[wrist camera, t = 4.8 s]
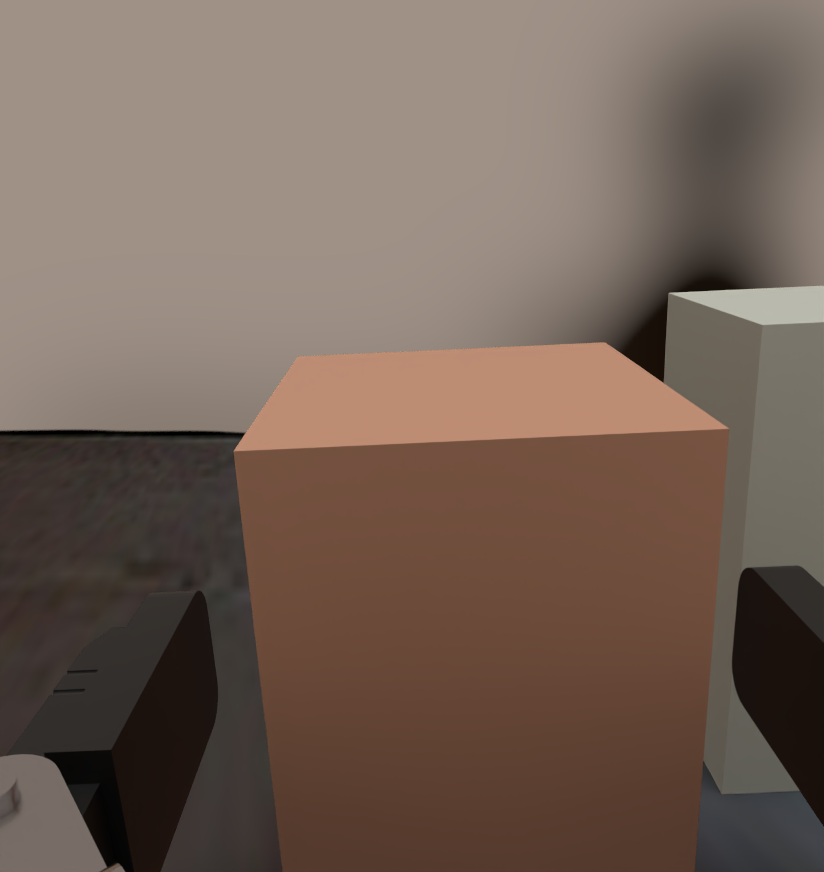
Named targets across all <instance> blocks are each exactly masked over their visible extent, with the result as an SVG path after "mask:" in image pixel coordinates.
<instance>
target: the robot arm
mask: <svg viewBox="0 0 824 872" xmlns="http://www.w3.org/2000/svg"><path fill="white" fill-rule="evenodd" d="M732 674H733V680H734V685H735V689H736V692H737V695H738V697H739V700H740V702H741V703H742V705H743V707H744V708H745V710H746V711H747V713H748V714H749V716H750V717H751V719H752V720H753V722H754V723H755V725H756V726H757V728H758V729H759V731H760V732H761V734H762V735H763V737H764V738H765V740H766V741H767V743H768V744H769V746H770V747H771V749H772V750H773V751H774V753H775V754H776V756H777V757H778V759H779V760H780V762H781V763H782V765H783V766H784V768H785V769H786V771H787V772H788V774H789V775H790V777H791V778H792V780H793V781H794V783H795V784H796V786H797V787H798V789H799V790H800V792H801V793H802V795H803V796H804V798H805V799H806V801H807V802H808V804H809V805H810V807H811V808H812V810H813V811H814V813H815V814H816V816H817V817H818V819H819V820H820V822H821V823H822V824H823V826H824V586H822V585H821V584H820V583H819V582H818V581H817V580H816V579H815V578H814V577H813V576H812V575H810V574H809V573H808V572H807V571H806V570H805V569H804V568H802V567H801V566H797V565H794V566H771V567H749V568H745V569H744V570H743V571H742V573H741V575H740V579H739V584H738V594H737V605H736V617H735V629H734V640H733V652H732ZM217 703H218V685H217V676H216V669H215V661H214V654H213V646H212V639H211V632H210V624H209V617H208V610H207V604H206V600H205V597H204V595H203V593H202V592H201V591H181V592H158V593H150V594H148V595H147V596H146V598H145V599H144V601H143V602H142V604H141V605H140V607H139V608H138V610H137V611H136V613H135V615H134V616H133V618H132V619H131V621H130V622H129V624H128V625H127V627H116V628H111V629H110V630H108V631H107V632H106V633H104V634H103V635H101V636H100V637H99V638H97V639H96V640H94V641H93V642H92V643H90V644H89V645H87V646H86V647H85V648H84V649H83V650H82V651H81V653H80V654H79V655H78V657H77V658H76V660H75V661H74V662H73V664H72V665H71V667H70V668H69V669H68V671H67V675H64V676H63V678H62V679H61V680H60V682H59V683H58V685H57V686H56V687H55V689H54V693H53V695H50V696H49V697H48V698H47V700H46V701H45V703H44V704H43V705H42V707H41V708H40V710H39V711H38V712H37V714H36V715H35V716H34V718H33V719H32V721H31V722H30V723H29V725H28V726H27V728H26V729H25V730H24V732H23V733H22V735H21V736H20V737H19V739H18V740H17V741H16V743H15V744H14V746H13V747H12V748H11V750H10V751H9V753H8V754H7V755H6V756H4V757H0V872H160V871H161V869H162V866H163V863H164V860H165V858H166V855H167V852H168V850H169V847H170V844H171V841H172V839H173V836H174V833H175V830H176V828H177V825H178V822H179V819H180V817H181V814H182V811H183V809H184V806H185V803H186V800H187V798H188V795H189V792H190V789H191V787H192V784H193V781H194V778H195V776H196V773H197V770H198V768H199V765H200V762H201V759H202V757H203V754H204V751H205V748H206V746H207V743H208V740H209V737H210V735H211V732H212V729H213V726H214V723H215V719H216V713H217Z"/></svg>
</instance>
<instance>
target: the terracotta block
mask: <svg viewBox="0 0 824 872" xmlns="http://www.w3.org/2000/svg"><path fill="white" fill-rule="evenodd" d="M728 439H729V428H728V427H726V426H725V425H723V424H722V423H720V422H719V421H717V420H716V419H715V418H713V417H712V416H710V415H709V414H707V413H706V412H704V411H703V410H702V409H700V408H699V407H697V406H696V405H694V404H693V403H691V402H690V401H689V400H687V399H686V398H684V397H683V396H681V395H680V394H679V393H677V392H676V391H674V390H673V389H671V388H670V387H668V386H667V385H666V384H664V383H663V382H661V381H659V380H658V379H657V378H655V377H654V376H653V375H651V374H650V373H648V372H647V371H645V370H644V369H642V368H641V367H639V366H638V365H637V364H635V363H634V362H632V361H631V360H629V359H628V358H626V357H625V356H624V355H622V354H621V353H619V352H618V351H616V350H615V349H614V348H612V347H610V346H609V345H608V344H606V343H583V344H561V345H540V346H517V347H497V348H496V347H495V348H475V349H453V350H452V349H451V350H430V351H409V352H386V353H366V354H365V353H364V354H345V355H344V354H342V355H322V356H321V355H320V356H301V357H300V356H298V357H297V359H296V360H295V362H294V363H293V365H292V366H291V368H290V369H289V371H288V372H287V373H286V375H285V377H284V378H283V379H282V381H281V382H280V384H279V385H278V387H277V388H276V390H275V391H274V393H273V394H272V395H271V397H270V398H269V400H268V401H267V403H266V404H265V406H264V407H263V409H262V410H261V412H260V413H259V415H258V416H257V418H256V419H255V421H254V422H253V424H252V425H251V427H250V428H249V429H248V431H247V432H246V434H245V435H244V437H243V438H242V440H241V441H240V443H239V444H238V446H237V447H236V448H235V450H234V459H235V468H236V476H237V485H238V493H239V502H240V510H241V519H242V527H243V536H244V545H245V553H246V562H247V570H248V579H249V587H250V596H251V605H252V613H253V622H254V630H255V639H256V647H257V656H258V665H259V673H260V682H261V690H262V699H263V707H264V716H265V725H266V733H267V742H268V750H269V759H270V767H271V776H272V785H273V793H274V802H275V810H276V819H277V827H278V836H279V845H280V853H281V862H282V870H283V872H695V861H696V848H697V835H698V822H699V809H700V797H701V784H702V771H703V758H704V746H705V733H706V720H707V707H708V695H709V682H710V669H711V656H712V644H713V631H714V618H715V605H716V593H717V580H718V567H719V554H720V542H721V529H722V516H723V503H724V491H725V478H726V465H727V452H728Z"/></svg>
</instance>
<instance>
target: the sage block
mask: <svg viewBox="0 0 824 872" xmlns="http://www.w3.org/2000/svg"><path fill="white" fill-rule="evenodd" d="M664 384H666V385H667V386H668V387H670V388H671V389H673V390H674V391H676V392H677V393H679V394H680V395H681V396H683V397H684V398H686V399H687V400H689V401H690V402H691V403H693V404H694V405H696V406H697V407H699V408H700V409H702V410H703V411H704V412H706V413H707V414H709V415H710V416H712V417H713V418H715V419H716V420H717V421H719V422H720V423H722V424H723V425H725V426H726V427H728V428H729V439H728V452H727V465H726V478H725V491H724V503H723V516H722V529H721V542H720V554H719V567H718V580H717V593H716V605H715V618H714V631H713V644H712V656H711V669H710V682H709V695H708V707H707V720H706V733H705V746H704V758H703V761H704V762H705V764H706V766H707V768H708V770H709V772H710V774H711V775H712V777H713V779H714V781H715V783H716V785H717V787H718V788H719V790H720V792H721V794H744V793H767V792H789V791H800V790H799V789H798V787H797V786H796V784H795V783H794V781H793V780H792V778H791V777H790V775H789V774H788V772H787V771H786V769H785V768H784V766H783V765H782V763H781V762H780V760H779V759H778V757H777V756H776V754H775V753H774V751H773V750H772V749H771V747H770V746H769V744H768V743H767V741H766V740H765V738H764V737H763V735H762V734H761V732H760V731H759V729H758V728H757V726H756V725H755V723H754V722H753V720H752V719H751V717H750V716H749V714H748V713H747V711H746V710H745V708H744V707H743V705H742V703H741V702H740V700H739V697H738V695H737V692H736V689H735V685H734V680H733V674H732V652H733V640H734V629H735V617H736V605H737V594H738V584H739V579H740V575H741V573H742V571H743V570H744V569H745V568H749V567H771V566H794V565H797V566H801V567H802V568H804V569H805V570H806V571H807V572H808V573H809V574H810V575H812V576H813V577H814V578H815V579H816V580H817V581H818V582H819V583H820V584H821V585H822V586H824V286H809V287H788V288H768V289H767V288H766V289H745V290H723V291H701V292H680V293H669V294H668V315H667V334H666V355H665V374H664Z"/></svg>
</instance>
